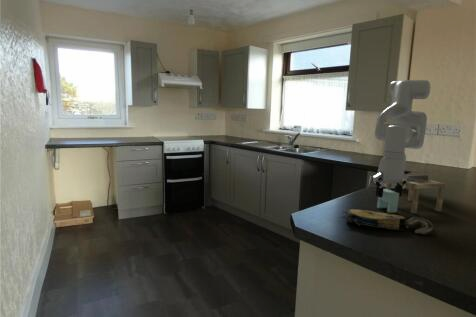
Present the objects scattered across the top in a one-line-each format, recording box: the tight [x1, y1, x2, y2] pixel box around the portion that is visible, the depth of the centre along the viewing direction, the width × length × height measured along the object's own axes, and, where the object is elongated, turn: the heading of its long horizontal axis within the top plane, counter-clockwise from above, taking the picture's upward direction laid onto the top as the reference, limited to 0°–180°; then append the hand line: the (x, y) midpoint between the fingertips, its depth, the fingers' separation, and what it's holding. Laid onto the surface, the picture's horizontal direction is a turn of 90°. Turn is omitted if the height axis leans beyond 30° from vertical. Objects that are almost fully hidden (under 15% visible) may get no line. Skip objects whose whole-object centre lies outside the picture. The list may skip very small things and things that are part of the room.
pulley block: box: [340, 209, 436, 235], centre depth 106 cm, size 14×6×30 cm
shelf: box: [385, 174, 446, 214], centre depth 131 cm, size 16×15×14 cm
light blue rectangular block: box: [376, 188, 400, 214], centre depth 125 cm, size 7×4×8 cm, turn 17°
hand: (388, 196), depth 125 cm, fingers open, 9 cm apart
